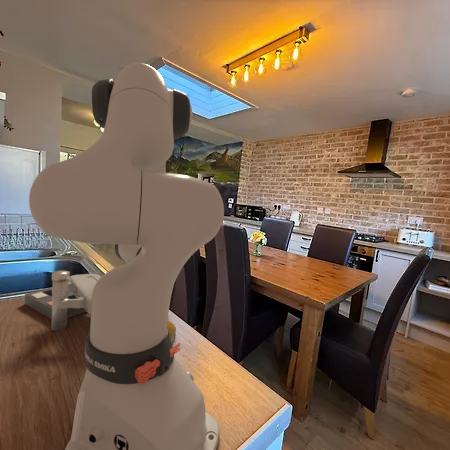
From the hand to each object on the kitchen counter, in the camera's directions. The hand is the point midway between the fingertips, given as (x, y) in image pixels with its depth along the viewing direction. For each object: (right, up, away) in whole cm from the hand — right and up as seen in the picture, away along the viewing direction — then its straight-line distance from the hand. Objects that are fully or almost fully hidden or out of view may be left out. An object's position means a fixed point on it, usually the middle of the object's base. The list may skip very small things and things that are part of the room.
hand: (56, 297), depth 62 cm
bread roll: (+24, -11, +2) cm, 26 cm away
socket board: (-7, -6, +12) cm, 15 cm away
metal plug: (0, -8, +2) cm, 8 cm away
